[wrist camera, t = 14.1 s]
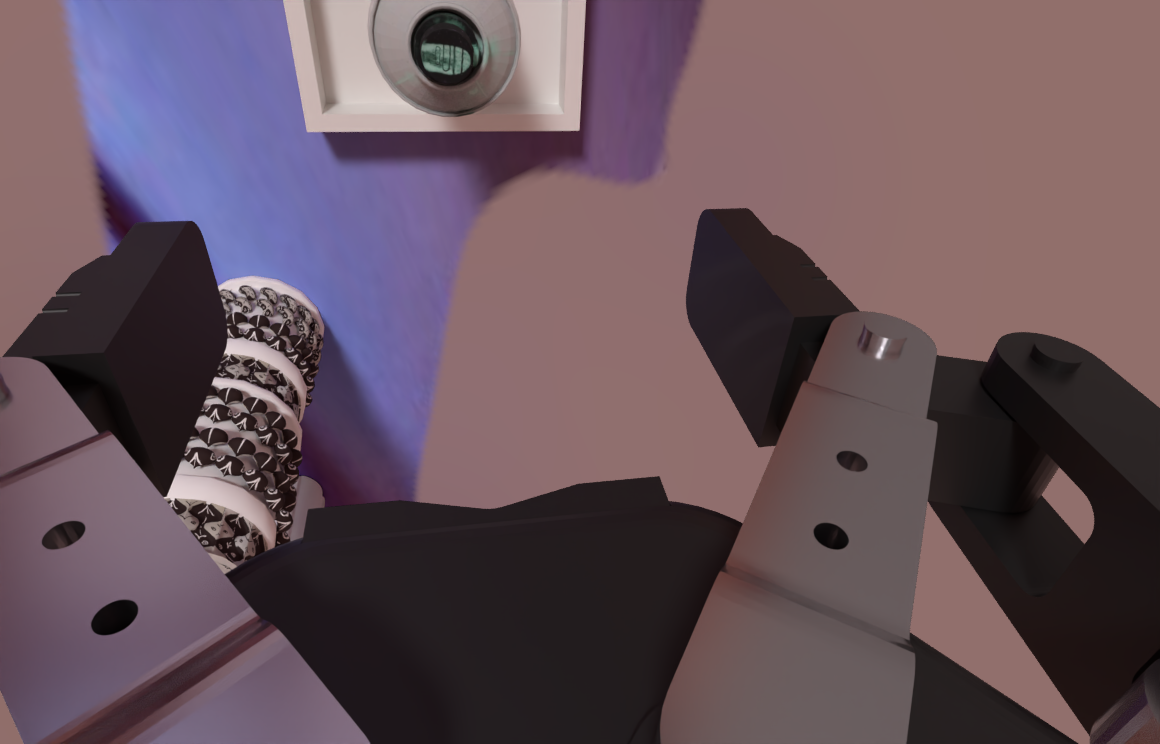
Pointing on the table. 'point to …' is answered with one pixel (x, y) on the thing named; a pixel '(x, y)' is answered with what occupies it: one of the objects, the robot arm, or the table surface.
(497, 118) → the tray
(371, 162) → the table surface
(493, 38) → the spray can
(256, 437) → the decorative candle
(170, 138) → the table surface
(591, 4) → the table surface
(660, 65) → the table surface
